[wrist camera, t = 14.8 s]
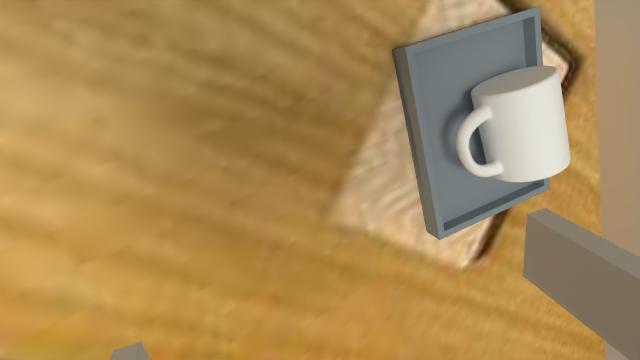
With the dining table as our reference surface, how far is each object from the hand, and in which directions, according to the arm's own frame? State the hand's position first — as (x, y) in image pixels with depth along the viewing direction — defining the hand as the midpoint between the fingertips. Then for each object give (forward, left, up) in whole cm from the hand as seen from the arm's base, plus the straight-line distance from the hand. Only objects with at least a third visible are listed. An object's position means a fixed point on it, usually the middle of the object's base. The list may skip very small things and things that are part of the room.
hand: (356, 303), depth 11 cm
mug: (+5, +26, -24) cm, 35 cm away
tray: (+5, +26, -25) cm, 36 cm away
